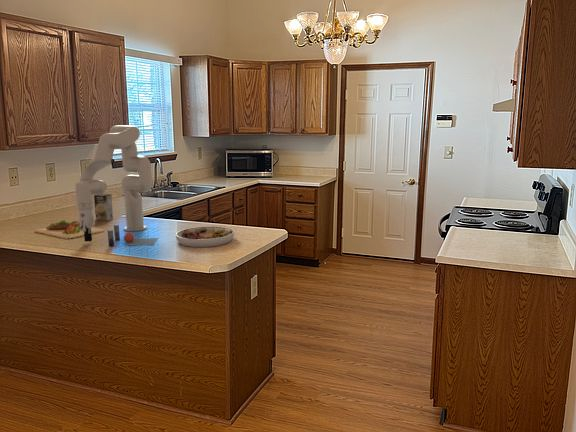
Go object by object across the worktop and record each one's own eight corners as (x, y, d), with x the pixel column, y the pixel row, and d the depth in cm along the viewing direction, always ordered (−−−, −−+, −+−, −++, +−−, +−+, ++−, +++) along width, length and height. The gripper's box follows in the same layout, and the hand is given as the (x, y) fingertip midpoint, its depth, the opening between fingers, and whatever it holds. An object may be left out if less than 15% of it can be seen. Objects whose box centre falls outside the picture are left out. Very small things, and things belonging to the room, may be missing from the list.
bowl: (196, 233, 278) (195, 219, 277) (244, 237, 267) (243, 223, 266) (164, 246, 251) (163, 231, 249) (216, 251, 240) (215, 235, 238)
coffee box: (95, 220, 316) (93, 195, 312) (101, 218, 322) (99, 193, 319) (107, 220, 313) (105, 195, 310) (113, 218, 319) (111, 194, 316)
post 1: (109, 245, 252) (108, 229, 251) (114, 245, 252) (113, 229, 251) (108, 246, 250) (106, 231, 248) (113, 246, 250) (112, 230, 248)
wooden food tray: (106, 232, 284) (105, 219, 282) (68, 241, 265) (67, 227, 263) (70, 225, 303) (69, 213, 302) (33, 233, 284) (31, 220, 283)
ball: (133, 230, 259) (136, 239, 260) (124, 234, 259) (127, 242, 260) (130, 232, 254) (133, 241, 255) (121, 235, 254) (125, 244, 255)
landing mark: (131, 239, 264) (131, 238, 264) (157, 238, 266) (157, 238, 265) (125, 245, 251) (125, 245, 251) (153, 245, 252) (153, 244, 252)
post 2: (115, 239, 264) (114, 224, 262) (120, 239, 264) (119, 224, 263) (114, 240, 261) (113, 225, 260) (119, 240, 262) (118, 225, 260)
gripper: (88, 208, 245) (91, 244, 248) (97, 203, 259) (100, 237, 263) (72, 208, 244) (76, 244, 248) (82, 203, 259) (85, 237, 262)
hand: (88, 240), depth 255 cm, fingers closed
